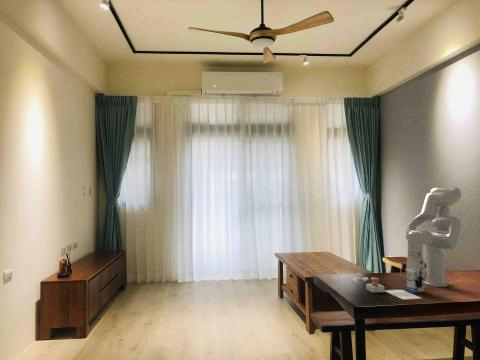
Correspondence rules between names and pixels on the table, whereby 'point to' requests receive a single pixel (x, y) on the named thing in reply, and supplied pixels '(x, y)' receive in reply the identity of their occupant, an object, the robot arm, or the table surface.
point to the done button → (374, 281)
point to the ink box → (413, 282)
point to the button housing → (375, 288)
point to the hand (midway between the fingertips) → (415, 285)
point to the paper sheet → (402, 294)
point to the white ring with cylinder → (360, 277)
